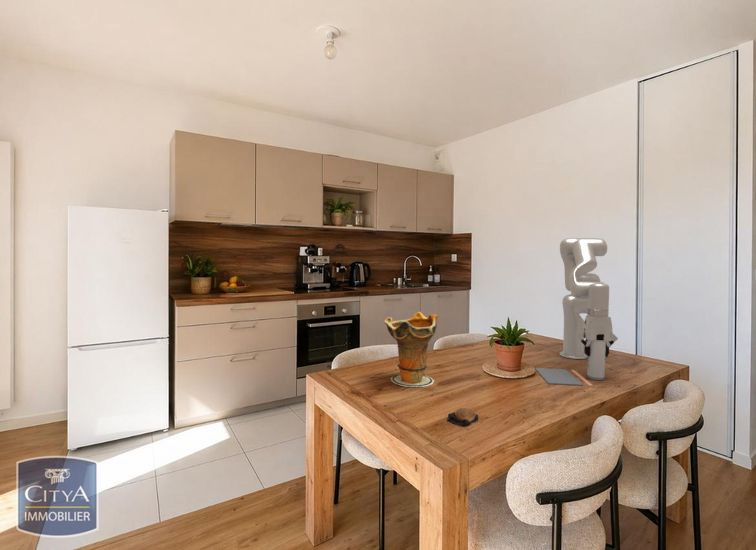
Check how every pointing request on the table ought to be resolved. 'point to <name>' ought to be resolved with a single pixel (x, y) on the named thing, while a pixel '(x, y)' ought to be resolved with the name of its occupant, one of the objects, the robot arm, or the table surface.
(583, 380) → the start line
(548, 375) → the mat
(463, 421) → the brown black rock
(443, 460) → the table surface
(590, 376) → the travel mug
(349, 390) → the table surface
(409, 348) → the decorative vase
